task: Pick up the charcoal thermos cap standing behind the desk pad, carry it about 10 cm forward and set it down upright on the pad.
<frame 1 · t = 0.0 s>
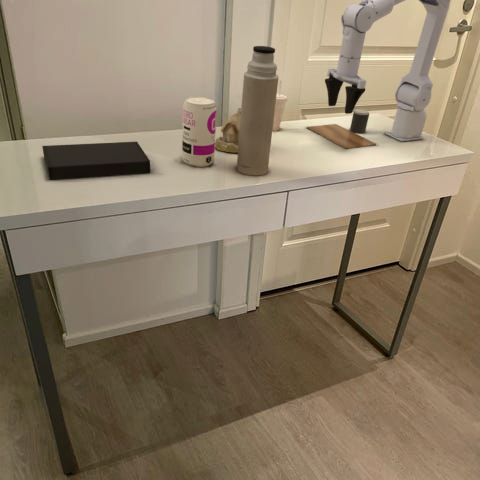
hand: (339, 109, 143), 10 cm above the table, tool pointing down, fingers open, 7 cm apart
smoothie: (272, 129, 157), on the table
external hard drive: (96, 166, 122), on the table
ceramic model: (237, 146, 142), on the table
thermos cap: (357, 131, 163), on the table
desk pad: (340, 136, 157), on the table
thermos bottle: (252, 170, 128), on the table
supplement can: (198, 162, 130), on the table
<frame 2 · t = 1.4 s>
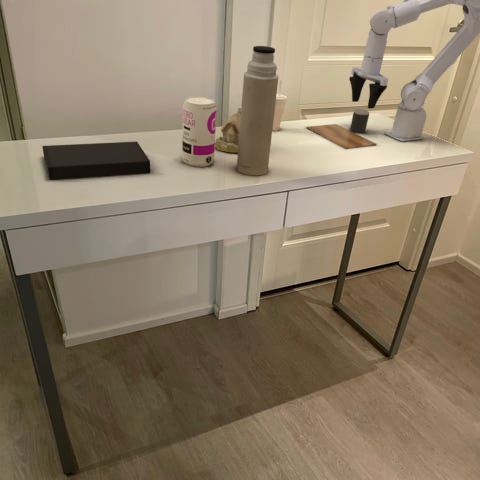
hand: (362, 104, 158), 8 cm above the table, tool pointing down, fingers open, 7 cm apart
nothing on the table moved.
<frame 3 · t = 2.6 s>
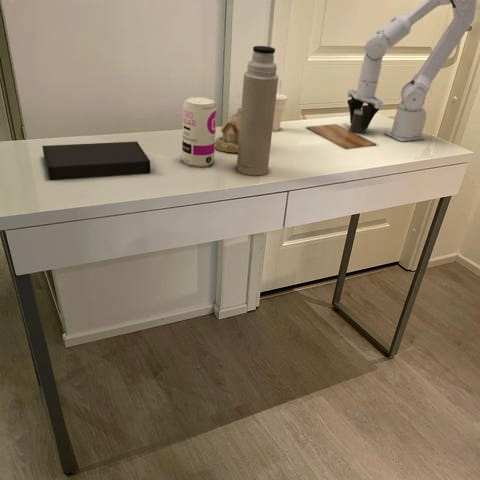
hand: (358, 125, 162), 2 cm above the table, tool pointing down, fingers closed on thermos cap, 5 cm apart
thermos cap: (357, 131, 163), on the table, touching gripper
everything else where it was.
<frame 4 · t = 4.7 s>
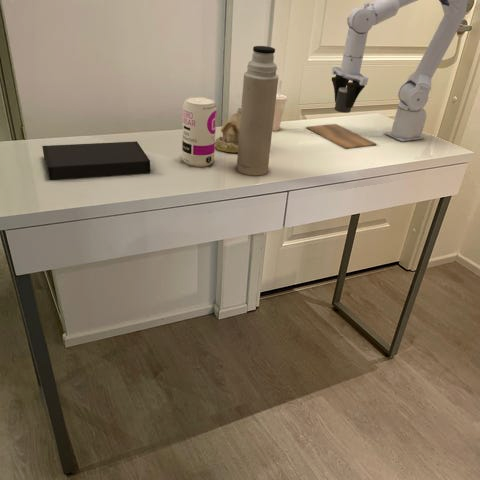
hand: (343, 104, 154), 8 cm above the table, tool pointing down, fingers closed on thermos cap, 5 cm apart
thermos cap: (342, 110, 155), point 7 cm above the table, touching gripper
everything else where it was.
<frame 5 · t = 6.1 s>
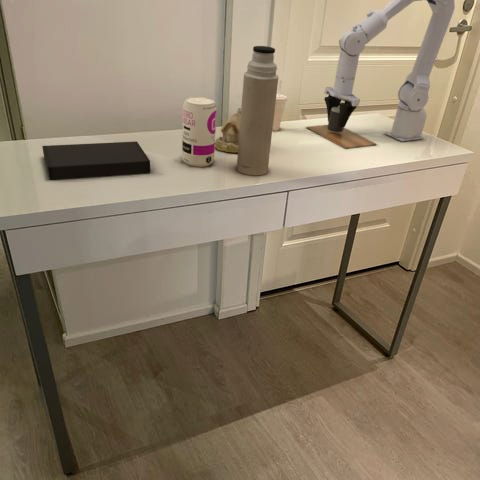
hand: (336, 124, 157), 3 cm above the table, tool pointing down, fingers closed on thermos cap, 5 cm apart
thermos cap: (335, 129, 158), point 1 cm above the table, touching gripper
everything else where it was.
when the fingers open (2 cm above the table, at t = 6.9 s): thermos cap stays where it is, resting on desk pad.
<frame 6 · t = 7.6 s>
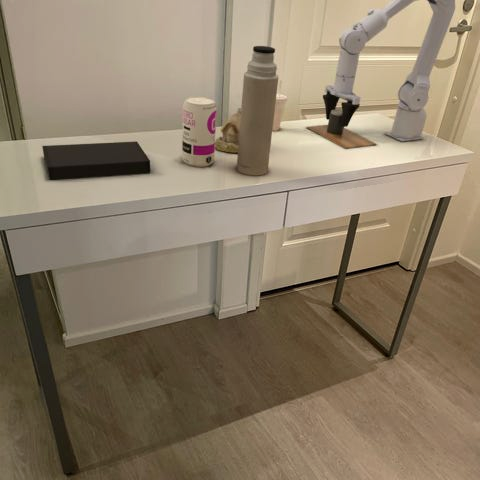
hand: (336, 122, 157), 3 cm above the table, tool pointing down, fingers open, 7 cm apart
thermos cap: (334, 132, 159), resting on desk pad
everything else where it was.
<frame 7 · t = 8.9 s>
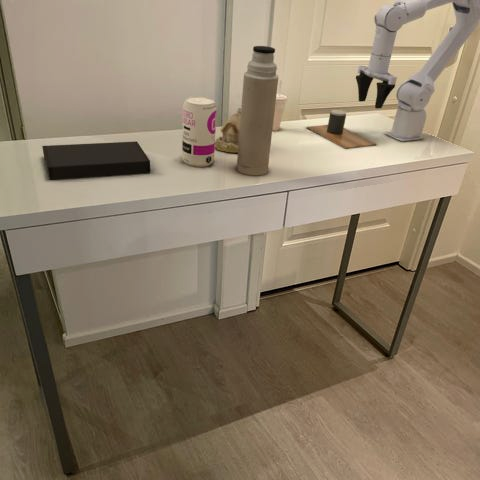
hand: (369, 104, 152), 10 cm above the table, tool pointing down, fingers open, 7 cm apart
nothing on the table moved.
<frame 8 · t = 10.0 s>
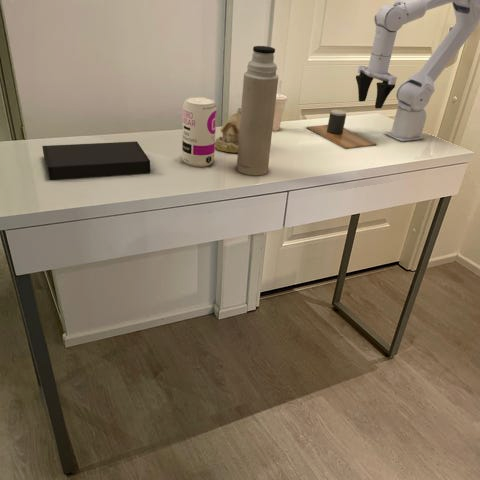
hand: (369, 104, 152), 10 cm above the table, tool pointing down, fingers open, 7 cm apart
nothing on the table moved.
at the end: thermos cap inside the target area (0.5 cm from its centre), resting on desk pad; thermos cap tilted 0°; the gripper is holding nothing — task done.
